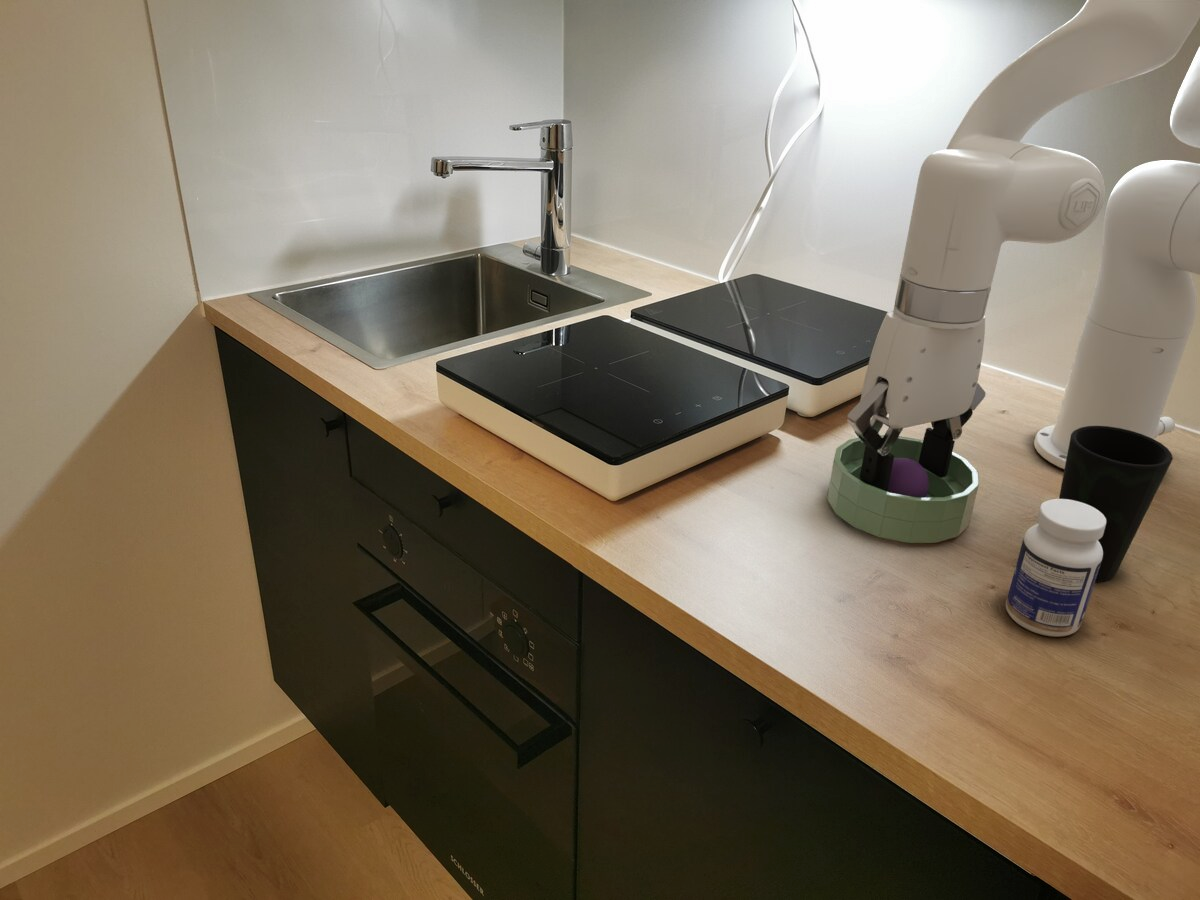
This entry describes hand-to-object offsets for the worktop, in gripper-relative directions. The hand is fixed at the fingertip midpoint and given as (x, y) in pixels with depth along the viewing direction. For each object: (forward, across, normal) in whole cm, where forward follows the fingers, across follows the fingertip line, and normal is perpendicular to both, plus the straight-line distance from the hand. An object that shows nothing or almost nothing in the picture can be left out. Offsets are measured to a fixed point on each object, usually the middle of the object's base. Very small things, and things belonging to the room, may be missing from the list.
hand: (903, 477), depth 87 cm
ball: (+1, 0, 0) cm, 1 cm away
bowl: (+4, 0, 0) cm, 4 cm away
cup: (+4, -9, +14) cm, 17 cm away
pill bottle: (+4, +1, +18) cm, 18 cm away
